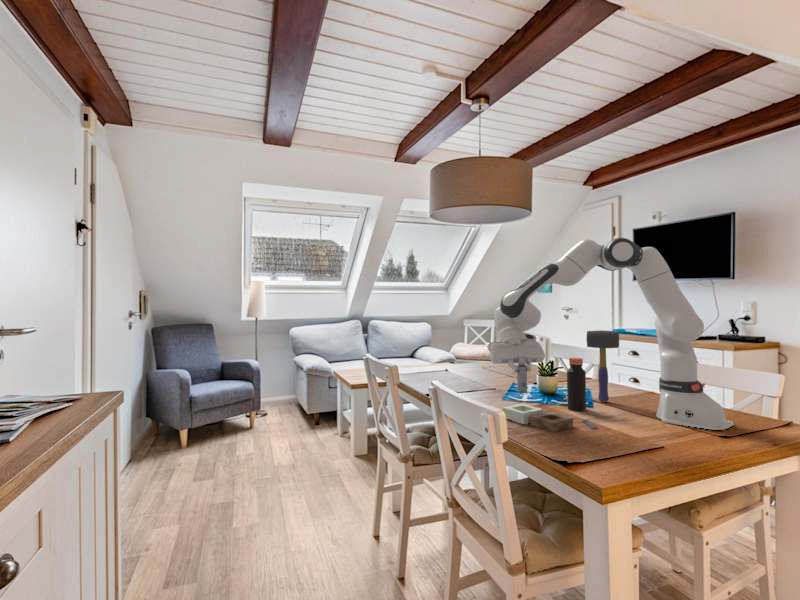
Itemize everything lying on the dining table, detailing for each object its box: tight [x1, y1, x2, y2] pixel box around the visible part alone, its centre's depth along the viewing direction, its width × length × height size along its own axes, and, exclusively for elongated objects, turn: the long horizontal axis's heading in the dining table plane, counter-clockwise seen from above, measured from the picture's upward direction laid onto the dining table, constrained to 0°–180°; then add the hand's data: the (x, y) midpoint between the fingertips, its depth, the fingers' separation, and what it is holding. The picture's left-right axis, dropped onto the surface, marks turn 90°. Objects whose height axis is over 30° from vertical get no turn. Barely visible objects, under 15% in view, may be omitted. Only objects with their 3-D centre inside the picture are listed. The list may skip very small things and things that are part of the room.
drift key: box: [581, 419, 598, 430], centre depth 148 cm, size 8×2×1 cm, turn 177°
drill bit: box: [516, 356, 528, 394], centre depth 156 cm, size 3×3×13 cm
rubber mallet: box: [586, 330, 620, 403], centre depth 180 cm, size 12×8×30 cm, turn 66°
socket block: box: [529, 411, 574, 433], centre depth 148 cm, size 10×10×3 cm
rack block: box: [502, 403, 544, 425], centre depth 156 cm, size 10×10×4 cm
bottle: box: [566, 357, 587, 412], centre depth 169 cm, size 7×7×20 cm
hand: (522, 371), depth 156 cm, fingers closed on drill bit, 3 cm apart
